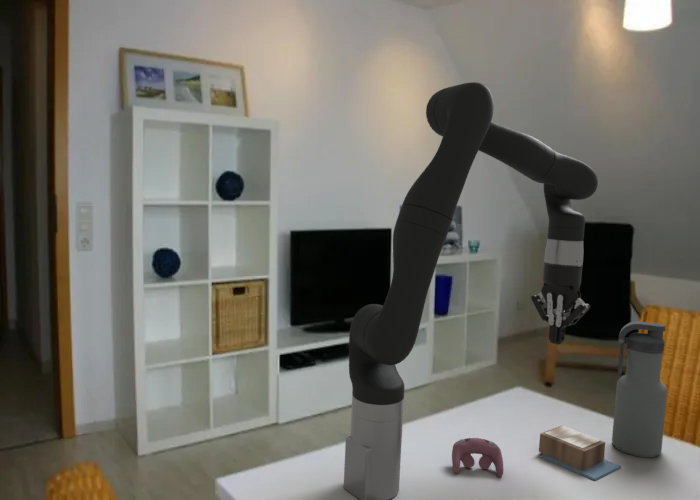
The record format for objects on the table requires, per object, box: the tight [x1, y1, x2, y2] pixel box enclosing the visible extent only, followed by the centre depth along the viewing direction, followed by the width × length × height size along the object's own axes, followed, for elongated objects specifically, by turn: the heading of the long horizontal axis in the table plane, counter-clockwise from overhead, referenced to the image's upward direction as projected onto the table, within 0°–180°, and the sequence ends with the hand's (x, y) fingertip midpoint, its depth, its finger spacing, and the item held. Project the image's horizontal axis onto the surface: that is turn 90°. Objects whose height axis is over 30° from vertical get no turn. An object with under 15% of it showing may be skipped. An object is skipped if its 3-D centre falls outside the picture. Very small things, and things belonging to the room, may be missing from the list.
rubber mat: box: [540, 453, 622, 482], centre depth 117 cm, size 10×12×1 cm
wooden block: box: [538, 425, 606, 471], centre depth 119 cm, size 8×4×10 cm
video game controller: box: [451, 437, 504, 478], centre depth 112 cm, size 10×5×7 cm, turn 85°
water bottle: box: [611, 320, 668, 458], centre depth 124 cm, size 10×10×28 cm
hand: (556, 343), depth 120 cm, fingers closed
